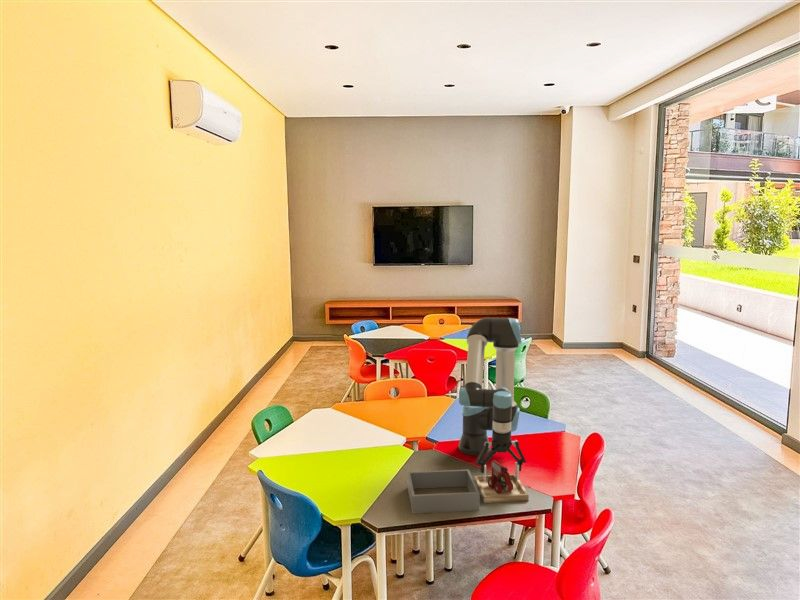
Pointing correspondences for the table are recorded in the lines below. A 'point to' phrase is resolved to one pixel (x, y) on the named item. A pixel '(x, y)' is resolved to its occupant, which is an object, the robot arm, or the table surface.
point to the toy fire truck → (500, 478)
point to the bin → (445, 500)
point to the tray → (491, 495)
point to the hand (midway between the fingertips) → (500, 479)
